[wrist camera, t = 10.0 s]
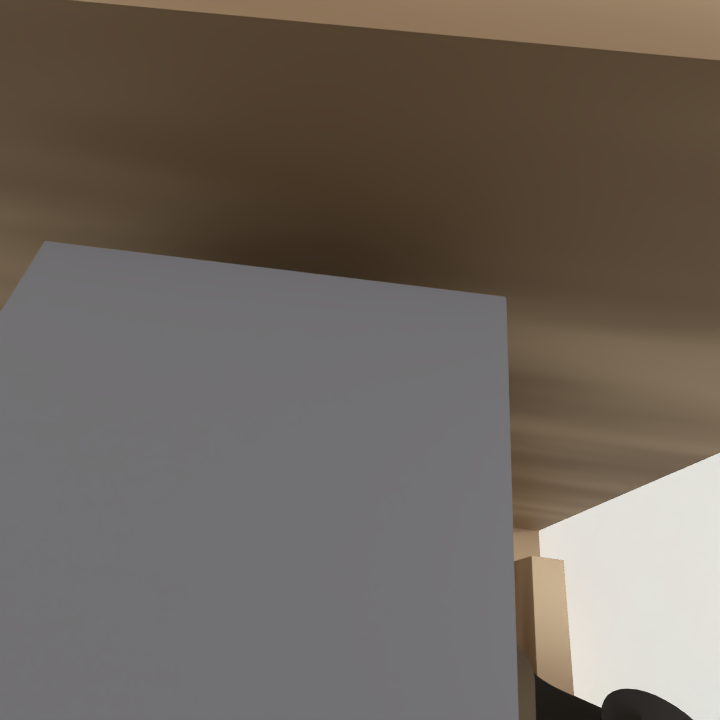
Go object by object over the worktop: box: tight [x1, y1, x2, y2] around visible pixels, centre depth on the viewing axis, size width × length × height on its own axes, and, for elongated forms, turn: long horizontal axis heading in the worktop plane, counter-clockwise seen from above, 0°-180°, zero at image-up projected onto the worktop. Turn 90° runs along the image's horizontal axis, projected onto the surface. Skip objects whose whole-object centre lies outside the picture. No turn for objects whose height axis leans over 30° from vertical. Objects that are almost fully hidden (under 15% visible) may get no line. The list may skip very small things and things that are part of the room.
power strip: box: [0, 241, 519, 720], centre depth 8 cm, size 5×4×13 cm
